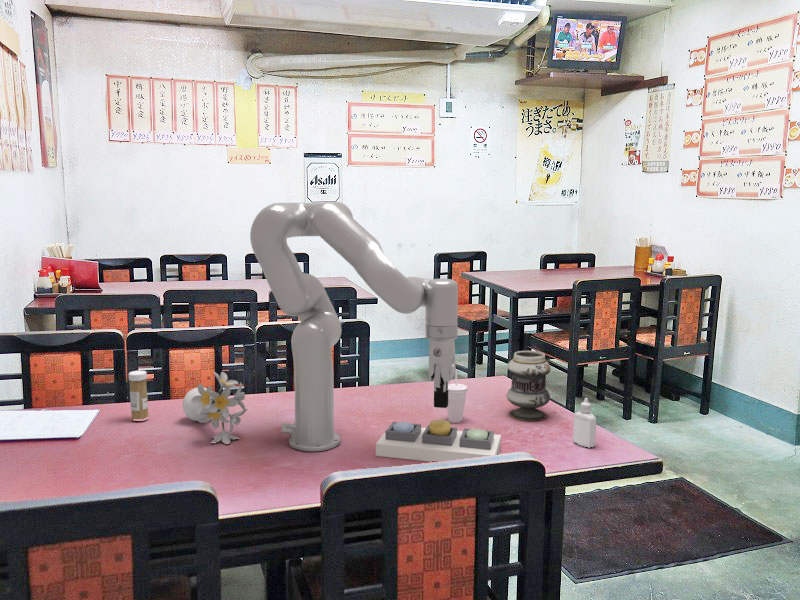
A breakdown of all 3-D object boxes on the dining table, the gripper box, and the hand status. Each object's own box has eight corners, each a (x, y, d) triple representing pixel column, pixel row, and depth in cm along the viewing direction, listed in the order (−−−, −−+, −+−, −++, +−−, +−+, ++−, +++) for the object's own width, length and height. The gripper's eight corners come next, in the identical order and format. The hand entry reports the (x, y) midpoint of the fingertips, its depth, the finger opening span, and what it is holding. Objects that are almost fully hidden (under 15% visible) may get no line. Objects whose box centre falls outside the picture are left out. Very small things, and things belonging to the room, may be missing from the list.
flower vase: (186, 446, 179) (215, 452, 159) (165, 382, 179) (191, 379, 158) (230, 428, 187) (263, 432, 166) (211, 366, 186) (242, 362, 165)
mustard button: (427, 435, 158) (427, 425, 157) (431, 428, 162) (431, 419, 162) (448, 437, 156) (448, 427, 156) (451, 430, 161) (452, 420, 161)
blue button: (391, 437, 160) (391, 427, 160) (396, 430, 165) (396, 421, 164) (411, 439, 159) (411, 429, 158) (415, 432, 164) (415, 423, 163)
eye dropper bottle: (579, 449, 162) (581, 401, 161) (571, 440, 168) (573, 395, 166) (596, 448, 163) (599, 401, 161) (587, 440, 168) (590, 394, 166)
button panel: (375, 455, 157) (375, 435, 156) (391, 435, 170) (391, 416, 170) (494, 468, 150) (494, 447, 149) (500, 446, 163) (501, 427, 163)
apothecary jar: (519, 406, 196) (521, 346, 193) (556, 414, 188) (559, 352, 185) (497, 416, 186) (500, 353, 184) (536, 425, 179) (539, 360, 176)
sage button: (464, 444, 156) (465, 435, 155) (467, 437, 161) (468, 428, 160) (486, 446, 155) (486, 437, 154) (488, 439, 159) (488, 429, 159)
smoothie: (466, 417, 185) (468, 368, 183) (466, 425, 179) (468, 374, 177) (444, 416, 186) (444, 367, 184) (443, 424, 179) (444, 373, 177)
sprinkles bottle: (151, 420, 180) (149, 372, 178) (135, 424, 177) (132, 375, 175) (144, 416, 183) (142, 369, 181) (128, 419, 180) (125, 371, 178)
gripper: (451, 338, 148) (451, 417, 150) (462, 326, 162) (461, 398, 165) (419, 337, 149) (418, 415, 152) (432, 325, 164) (431, 396, 167)
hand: (441, 406), depth 158 cm, fingers closed
